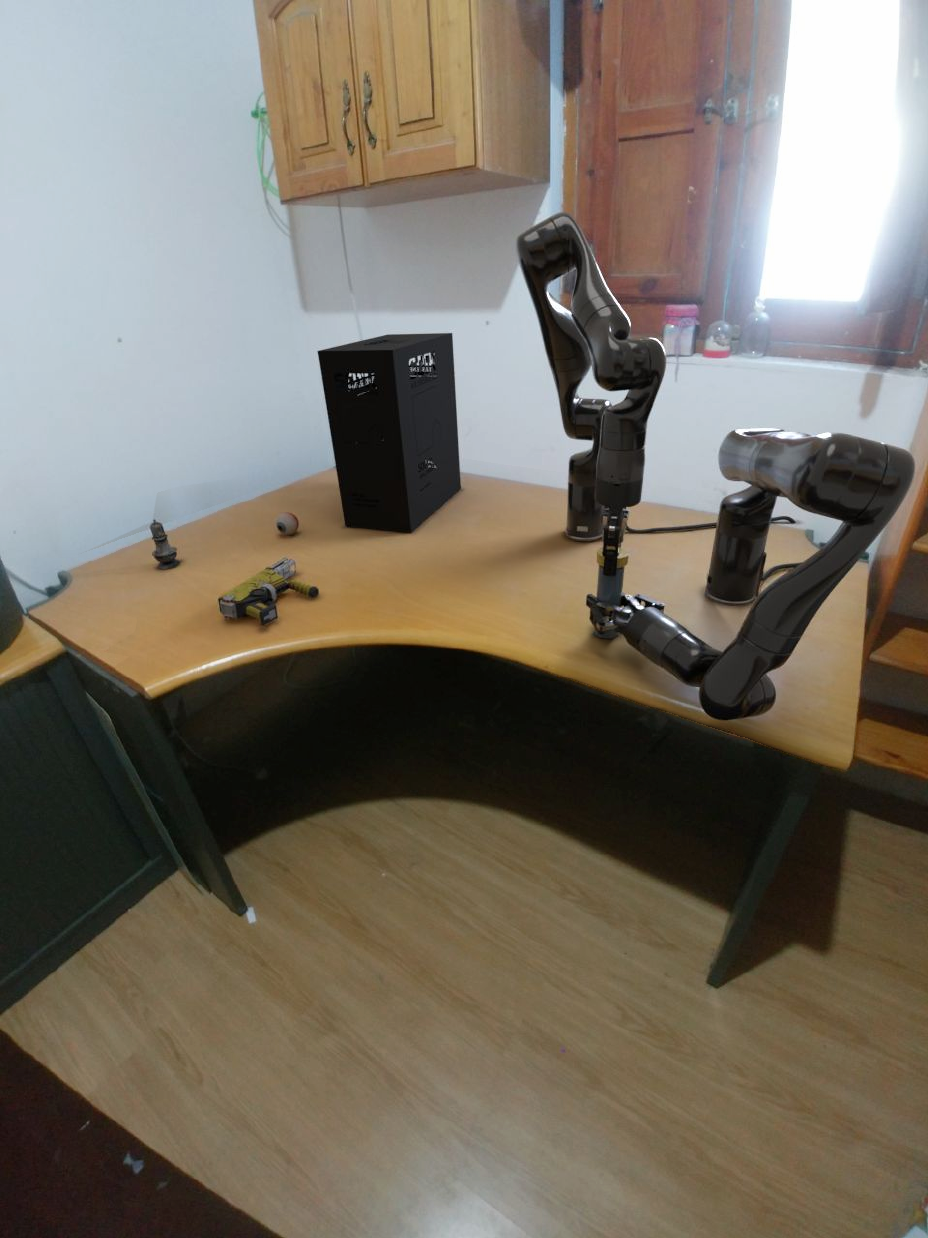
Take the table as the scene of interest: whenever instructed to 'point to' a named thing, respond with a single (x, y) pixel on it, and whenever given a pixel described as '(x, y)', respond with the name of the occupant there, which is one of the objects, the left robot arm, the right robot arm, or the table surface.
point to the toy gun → (262, 593)
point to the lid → (621, 558)
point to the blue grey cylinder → (610, 593)
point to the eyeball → (287, 523)
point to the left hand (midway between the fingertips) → (611, 567)
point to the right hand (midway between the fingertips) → (599, 595)
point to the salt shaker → (163, 547)
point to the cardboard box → (393, 428)
